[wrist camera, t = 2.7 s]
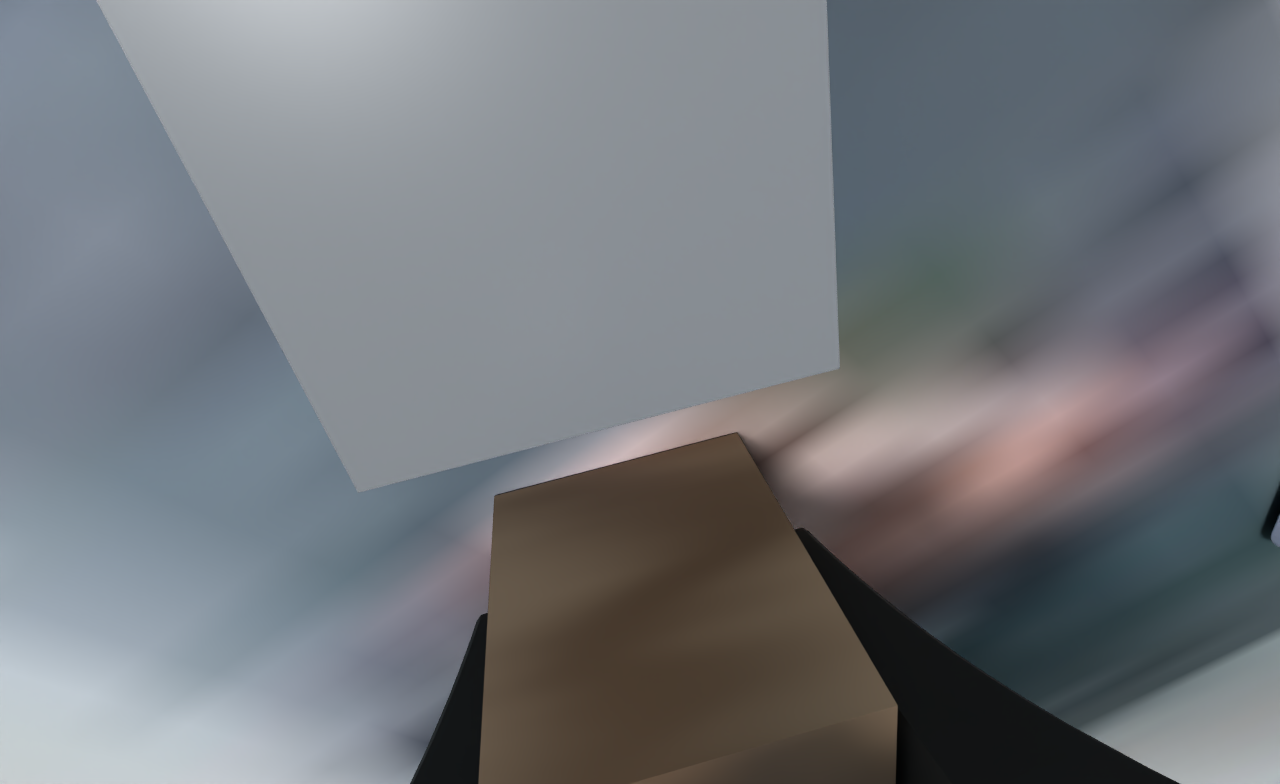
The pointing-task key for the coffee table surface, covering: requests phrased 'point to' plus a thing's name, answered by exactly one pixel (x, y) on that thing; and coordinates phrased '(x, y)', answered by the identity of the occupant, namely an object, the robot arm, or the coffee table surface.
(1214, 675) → the coffee table surface
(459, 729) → the robot arm
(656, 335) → the grey cube
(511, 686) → the walnut block
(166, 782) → the coffee table surface
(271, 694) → the coffee table surface
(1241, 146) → the coffee table surface
